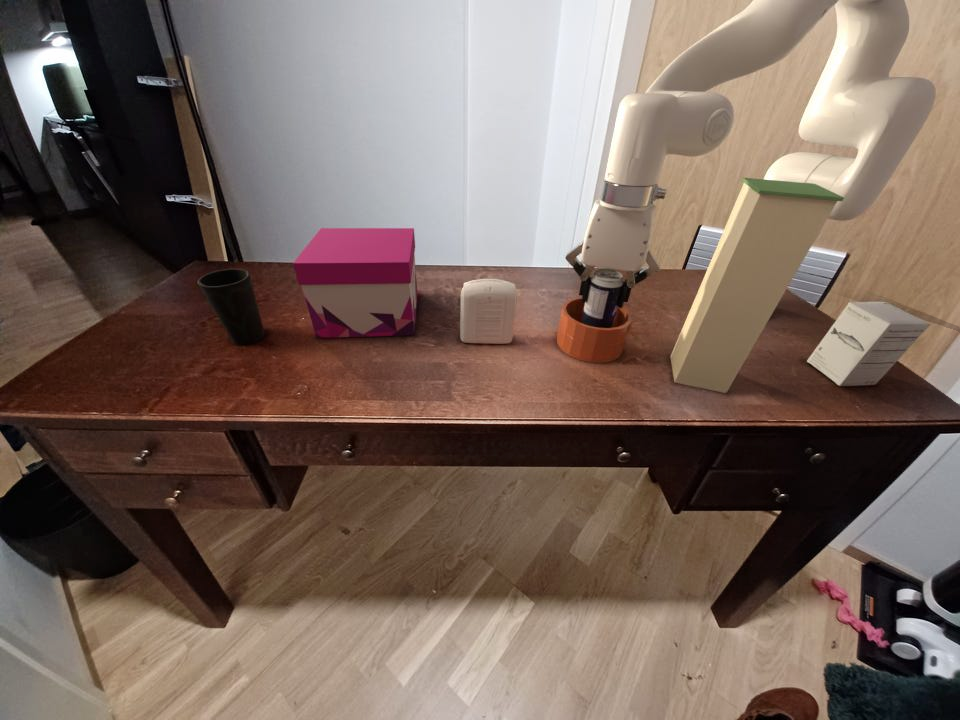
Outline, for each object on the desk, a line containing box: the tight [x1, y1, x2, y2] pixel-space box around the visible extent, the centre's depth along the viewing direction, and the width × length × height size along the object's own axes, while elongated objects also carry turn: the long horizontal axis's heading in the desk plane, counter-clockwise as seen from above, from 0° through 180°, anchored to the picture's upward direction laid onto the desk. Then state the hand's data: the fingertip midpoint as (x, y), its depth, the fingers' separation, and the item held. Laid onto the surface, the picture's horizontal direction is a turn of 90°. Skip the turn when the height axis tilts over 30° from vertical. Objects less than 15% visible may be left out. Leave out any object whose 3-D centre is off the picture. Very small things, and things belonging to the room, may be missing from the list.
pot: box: [556, 296, 633, 364], centre depth 69 cm, size 12×12×7 cm
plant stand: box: [669, 182, 837, 394], centre depth 55 cm, size 8×8×30 cm
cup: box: [197, 268, 266, 346], centre depth 66 cm, size 8×8×12 cm
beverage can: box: [581, 268, 624, 328], centre depth 66 cm, size 6×6×12 cm
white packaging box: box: [806, 301, 932, 387], centre depth 62 cm, size 7×7×13 cm
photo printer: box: [459, 278, 518, 345], centre depth 67 cm, size 10×4×12 cm, turn 92°
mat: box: [741, 177, 844, 201], centre depth 46 cm, size 9×9×1 cm
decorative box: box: [292, 227, 418, 339], centre depth 73 cm, size 19×19×15 cm
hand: (602, 300), depth 66 cm, fingers closed on beverage can, 5 cm apart
